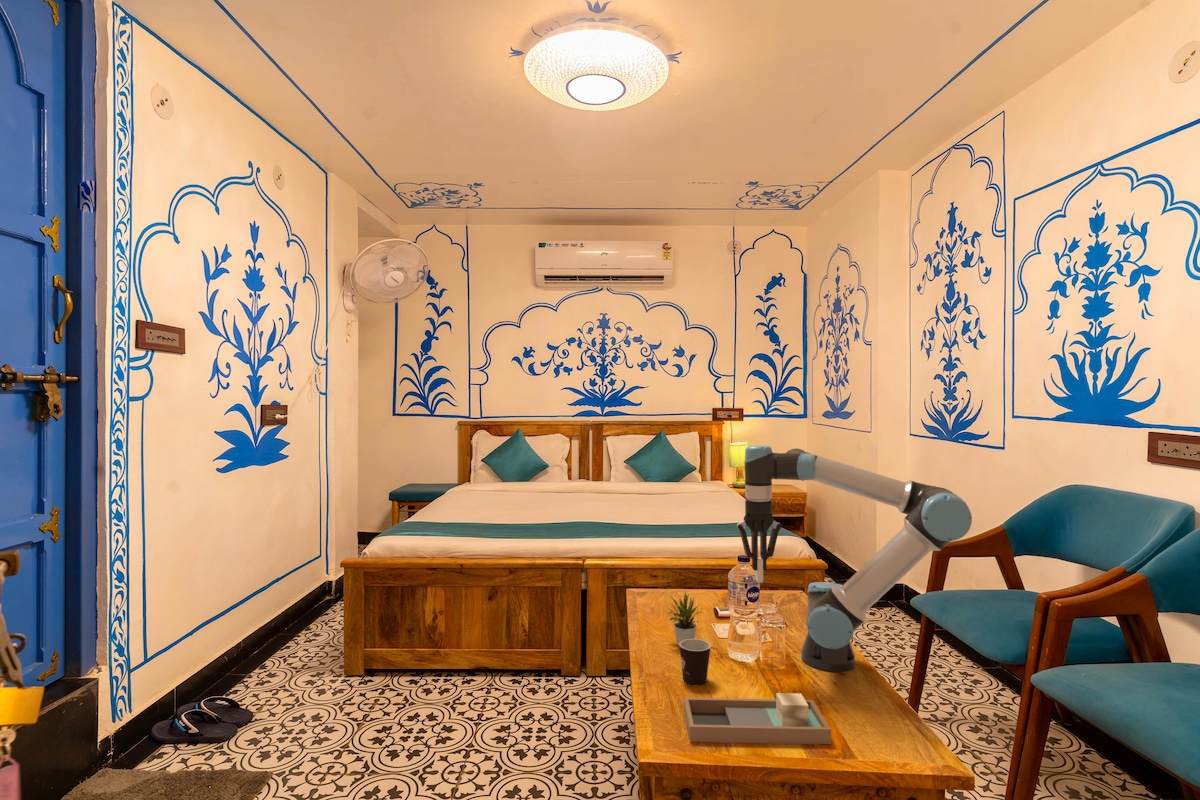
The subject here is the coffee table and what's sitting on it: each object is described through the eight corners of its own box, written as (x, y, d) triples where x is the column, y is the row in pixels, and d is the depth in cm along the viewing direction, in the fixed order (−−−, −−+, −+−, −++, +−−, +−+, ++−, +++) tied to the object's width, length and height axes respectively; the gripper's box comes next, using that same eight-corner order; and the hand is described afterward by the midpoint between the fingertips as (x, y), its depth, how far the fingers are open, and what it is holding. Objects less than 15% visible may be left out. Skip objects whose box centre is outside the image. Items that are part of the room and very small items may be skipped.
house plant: (659, 634, 212) (659, 585, 212) (701, 635, 212) (702, 585, 212) (662, 651, 198) (662, 599, 198) (707, 652, 198) (707, 599, 198)
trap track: (812, 713, 160) (812, 699, 160) (830, 744, 146) (831, 729, 146) (683, 711, 161) (683, 697, 161) (689, 741, 147) (689, 726, 147)
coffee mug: (709, 689, 174) (710, 652, 173) (677, 686, 175) (678, 649, 175) (711, 670, 185) (711, 636, 185) (681, 668, 187) (681, 633, 186)
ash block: (801, 714, 156) (801, 693, 156) (808, 726, 150) (808, 705, 150) (776, 713, 156) (776, 693, 156) (782, 726, 150) (782, 705, 150)
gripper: (777, 496, 188) (777, 577, 189) (733, 497, 188) (733, 577, 188) (785, 501, 181) (785, 584, 181) (739, 501, 181) (739, 585, 181)
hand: (759, 581), depth 185 cm, fingers closed
